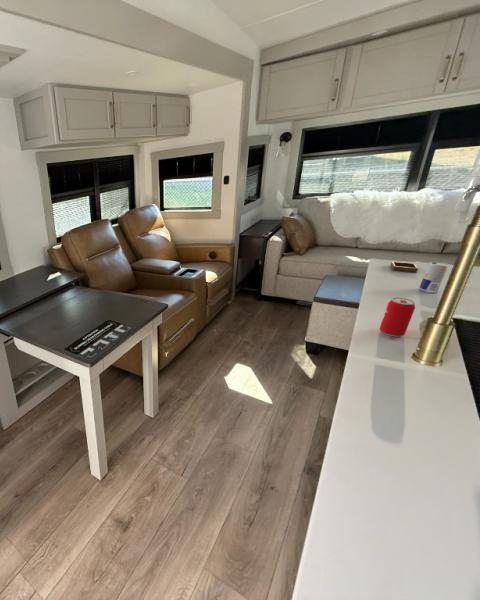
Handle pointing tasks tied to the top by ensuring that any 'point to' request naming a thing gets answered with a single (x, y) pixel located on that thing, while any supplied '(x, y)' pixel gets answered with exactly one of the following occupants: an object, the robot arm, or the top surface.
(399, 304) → the beverage can
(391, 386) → the top surface
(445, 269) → the energy drink
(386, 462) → the top surface
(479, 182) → the robot arm
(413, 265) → the serving tray
